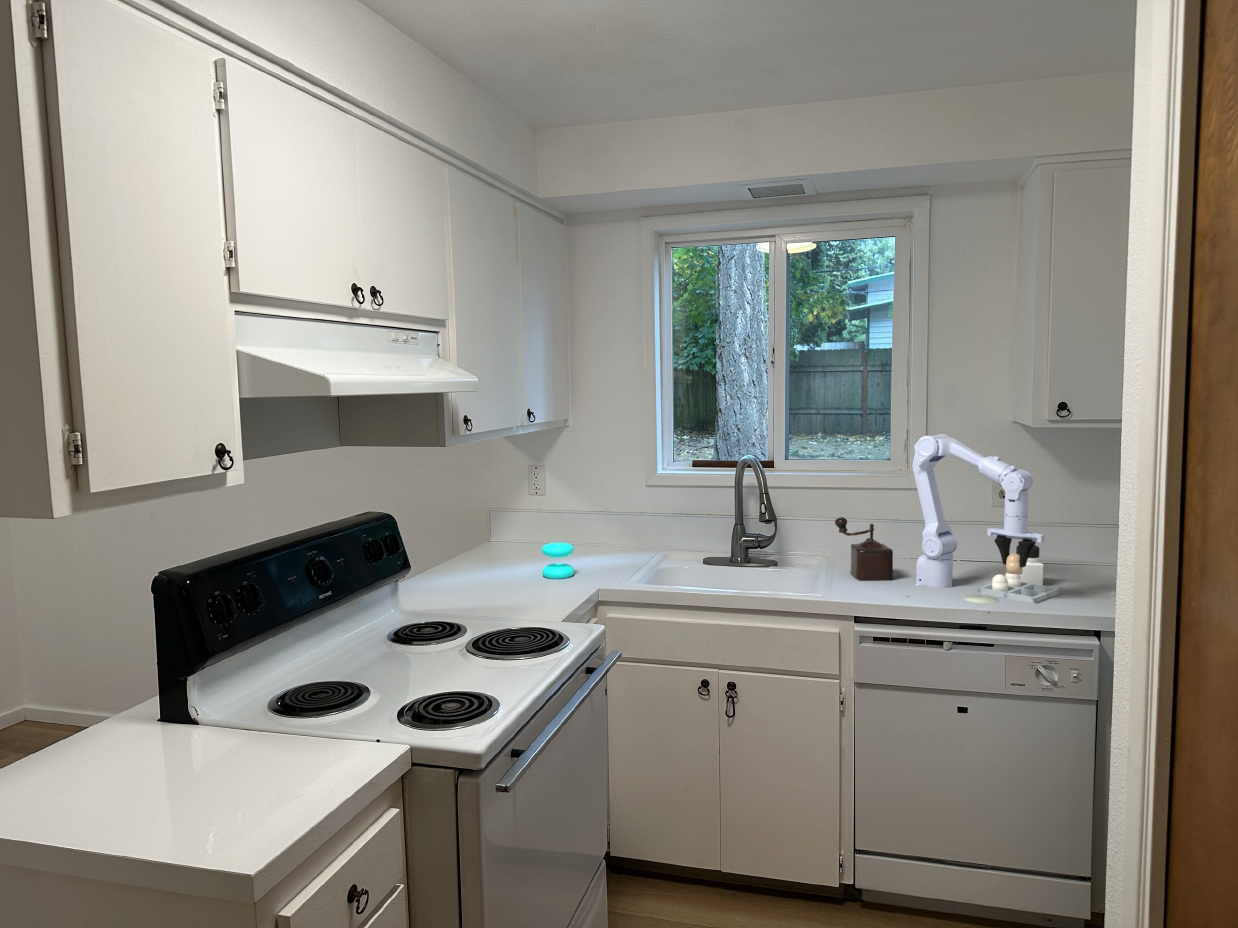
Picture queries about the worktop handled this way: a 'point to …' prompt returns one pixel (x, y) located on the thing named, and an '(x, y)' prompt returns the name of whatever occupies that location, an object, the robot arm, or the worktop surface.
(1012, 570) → the egg brown
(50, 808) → the worktop surface
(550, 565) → the cyan oval discs
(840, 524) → the manual coffee grinder
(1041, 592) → the carton
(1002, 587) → the egg white front
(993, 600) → the saucer
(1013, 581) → the egg white back
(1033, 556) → the medicine bottle
